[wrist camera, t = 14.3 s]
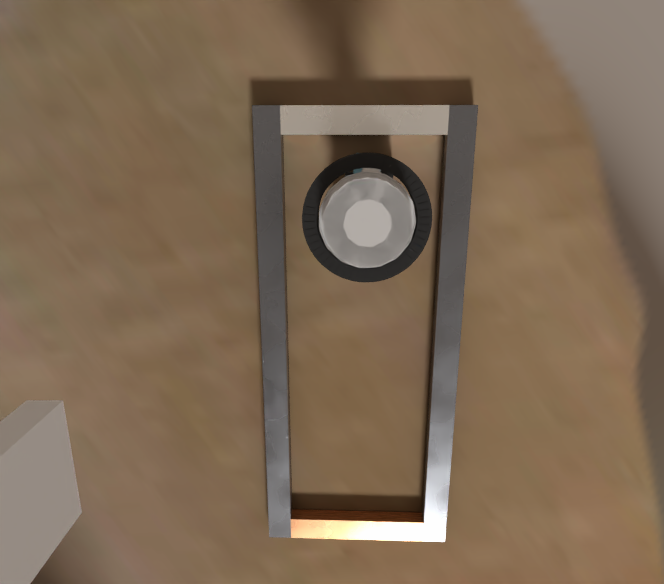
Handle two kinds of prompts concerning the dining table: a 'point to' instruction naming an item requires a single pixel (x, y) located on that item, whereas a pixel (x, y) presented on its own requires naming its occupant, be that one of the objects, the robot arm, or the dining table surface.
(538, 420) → the dining table surface
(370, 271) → the push button
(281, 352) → the open rectangular frame
